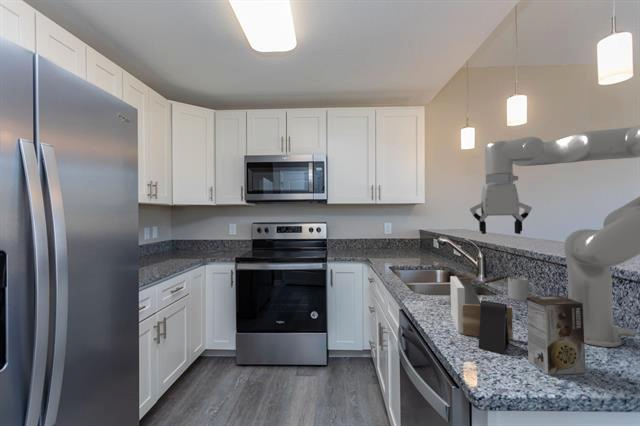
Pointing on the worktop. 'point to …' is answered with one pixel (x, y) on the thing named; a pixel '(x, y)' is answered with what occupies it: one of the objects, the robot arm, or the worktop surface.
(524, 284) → the cup
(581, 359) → the coffee box
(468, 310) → the door
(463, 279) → the coffee pot
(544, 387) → the worktop surface
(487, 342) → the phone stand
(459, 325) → the wall frame
